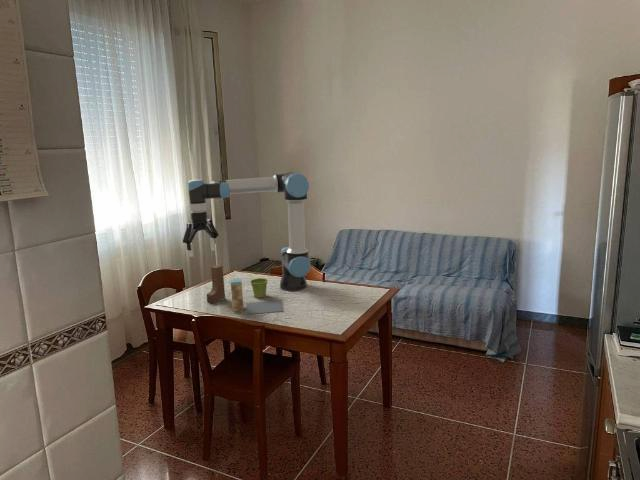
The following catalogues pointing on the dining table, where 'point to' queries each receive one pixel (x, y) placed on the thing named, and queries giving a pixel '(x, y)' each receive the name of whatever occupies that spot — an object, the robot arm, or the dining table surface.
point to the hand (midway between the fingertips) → (202, 253)
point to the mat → (264, 307)
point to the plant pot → (259, 287)
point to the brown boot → (216, 285)
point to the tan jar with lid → (237, 295)
